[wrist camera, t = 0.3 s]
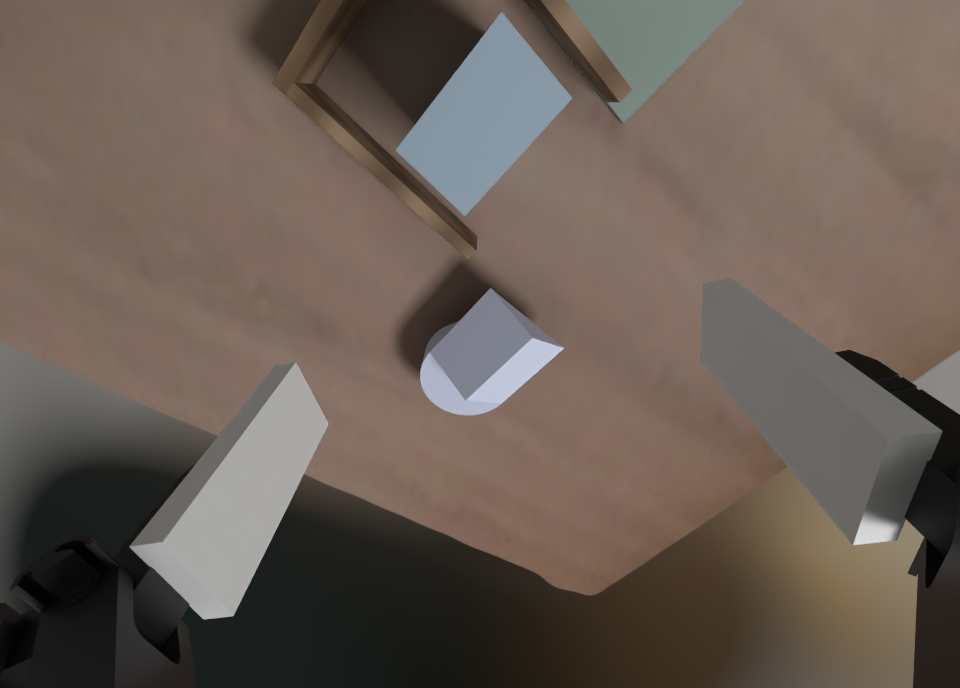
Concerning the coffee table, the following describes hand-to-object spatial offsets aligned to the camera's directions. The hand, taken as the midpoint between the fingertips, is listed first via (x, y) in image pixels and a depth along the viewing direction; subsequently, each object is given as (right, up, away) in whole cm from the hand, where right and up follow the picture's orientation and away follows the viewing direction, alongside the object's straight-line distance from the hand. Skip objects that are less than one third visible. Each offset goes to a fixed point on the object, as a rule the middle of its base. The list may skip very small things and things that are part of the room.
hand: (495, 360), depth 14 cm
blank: (0, +18, +18) cm, 26 cm away
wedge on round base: (0, 0, +29) cm, 29 cm away
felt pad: (+10, +24, +15) cm, 30 cm away
